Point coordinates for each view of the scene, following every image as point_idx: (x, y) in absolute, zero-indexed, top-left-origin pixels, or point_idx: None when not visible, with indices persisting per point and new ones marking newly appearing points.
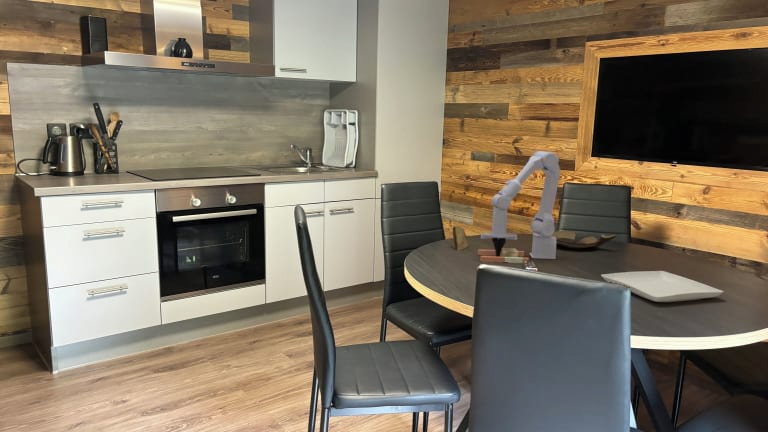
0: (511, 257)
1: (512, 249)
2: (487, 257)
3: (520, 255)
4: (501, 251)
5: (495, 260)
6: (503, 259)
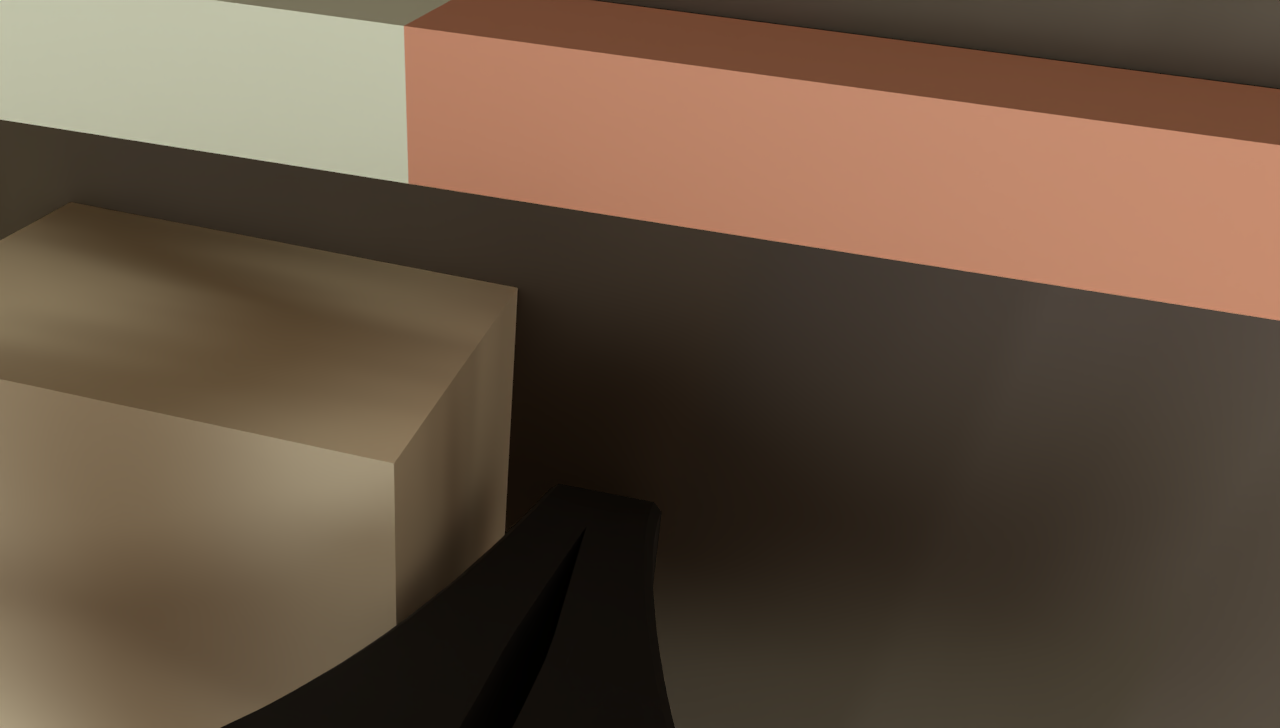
0: (141, 72)
1: (41, 678)
2: (1200, 129)
3: None
4: None
5: (819, 43)
6: (486, 15)
